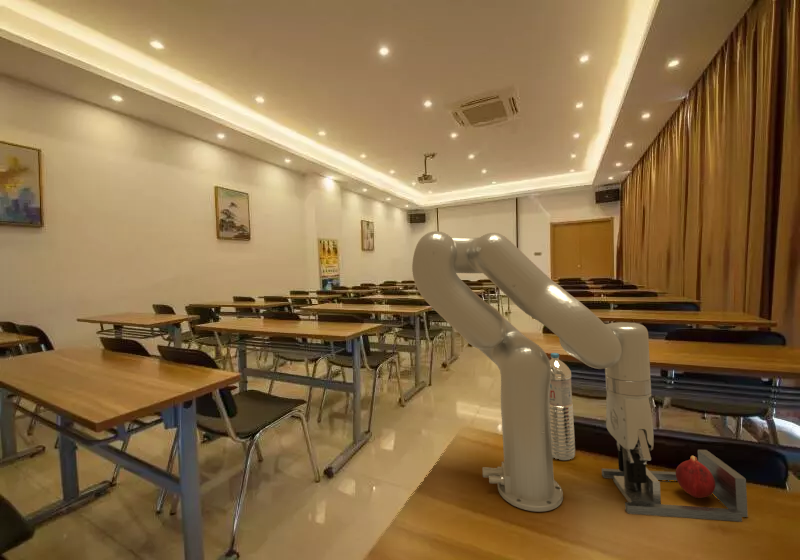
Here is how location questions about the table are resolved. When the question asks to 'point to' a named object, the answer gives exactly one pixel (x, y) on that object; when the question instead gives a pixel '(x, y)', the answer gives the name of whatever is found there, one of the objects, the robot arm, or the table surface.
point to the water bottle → (561, 410)
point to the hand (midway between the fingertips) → (632, 475)
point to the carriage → (638, 486)
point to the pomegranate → (695, 478)
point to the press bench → (726, 490)
